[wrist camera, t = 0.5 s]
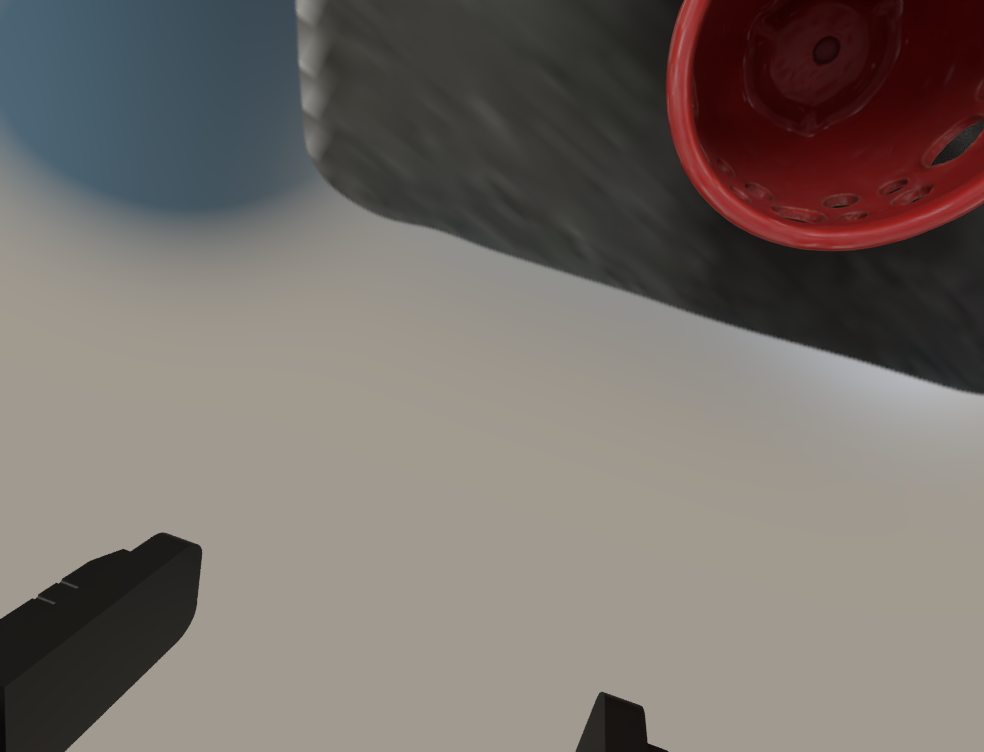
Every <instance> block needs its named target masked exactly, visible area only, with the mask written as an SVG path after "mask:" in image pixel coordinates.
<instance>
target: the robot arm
mask: <svg viewBox="0 0 984 752" xmlns="http://www.w3.org/2000/svg"><path fill="white" fill-rule="evenodd" d="M201 560H202V549H201V547H200V546H199V545H198V544H195V543H192V542H189V541H187V540H184V539H181V538H178V537H176V536H173V535H170V534H167V533H159V534H156V535H154V536H153V537H151V538H150V539H148V540H147V541H145V542H144V543H143V544H141V545H140V546H138V547H137V548H135V549H134V550H132V551H131V552H130V551H127V550H125V549H122V550H119V551H116V552H113V553H111V554H108V555H105V556H102V557H100V558H97V559H94V560H92V561H89V562H88V563H86V564H84V565H83V566H81V567H80V568H78V569H77V570H75V571H74V572H72V573H71V574H69V575H68V576H66V577H64V578H63V579H62V581H61V582H60V583H59V584H58V583H55V584H54V585H52V586H51V587H49V588H48V589H46V590H44V591H43V592H41V593H40V594H38V597H37V598H36V599H31V600H29V601H27V602H26V603H25V604H23V605H21V606H20V607H18V608H17V609H15V610H14V611H12V612H11V613H9V614H7V615H6V616H5V617H3V618H2V619H0V752H65V751H66V750H67V749H68V748H69V747H70V746H71V745H72V744H73V743H74V742H75V741H76V740H77V739H78V738H79V737H80V736H81V735H82V734H83V733H84V732H85V731H86V730H87V729H88V728H89V727H90V726H91V725H93V723H95V722H96V720H98V719H99V718H100V717H101V716H102V715H103V714H104V713H105V712H106V711H107V710H108V709H109V708H110V707H111V706H112V705H113V704H114V703H115V702H116V701H117V700H118V699H119V698H120V697H121V696H122V695H123V694H124V693H125V692H126V691H127V690H128V689H129V688H130V687H132V686H133V685H134V684H135V682H137V681H138V680H139V679H140V678H141V677H142V676H143V675H144V674H145V673H146V672H147V671H148V670H149V669H150V668H151V667H152V666H153V665H154V664H155V663H156V662H157V661H158V660H159V659H160V658H161V657H162V656H163V655H164V654H165V653H166V652H167V651H168V650H170V648H171V647H173V646H174V645H175V644H176V643H177V642H178V641H179V639H180V638H181V637H182V636H183V635H184V633H185V632H186V630H187V629H188V627H189V625H190V623H191V621H192V619H193V617H194V614H195V611H196V606H197V597H198V588H199V579H200V569H201ZM576 752H668V751H667V750H664V749H662V748H659V747H656V746H653V745H651V744H648V743H647V732H646V722H645V713H644V709H643V707H642V706H640V705H638V704H635V703H632V702H629V701H627V700H624V699H621V698H618V697H615V696H613V695H610V694H607V693H604V692H601V693H599V695H598V697H597V699H596V701H595V704H594V707H593V709H592V712H591V714H590V716H589V719H588V721H587V724H586V726H585V729H584V731H583V734H582V737H581V739H580V742H579V744H578V746H577V749H576Z"/></svg>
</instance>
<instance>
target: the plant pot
mask: <svg viewBox="0 0 984 752" xmlns="http://www.w3.org/2000/svg"><path fill="white" fill-rule="evenodd" d="M666 105H667V116H668V122H669V128H670V133H671V137H672V140H673V143H674V146H675V150H676V153H677V156H678V158H679V160H680V163H681V165H682V168H683V170H684V171H685V173H686V175H687V177H688V178H689V180H690V182H691V183H692V185H693V186H694V187H695V189H696V190H697V191H698V193H699V194H700V195H701V196H702V197H703V198H704V199H705V200H706V202H707V203H708V204H709V205H710V206H711V207H712V208H713V209H714V210H716V211H717V212H718V213H720V214H721V215H722V216H723V217H724V218H725V219H727V220H728V221H730V222H731V223H733V224H734V225H736V226H737V227H739V228H740V229H742V230H744V231H746V232H748V233H750V234H752V235H754V236H757V237H759V238H762V239H764V240H767V241H770V242H773V243H777V244H780V245H783V246H788V247H793V248H798V249H805V250H817V251H848V250H858V249H865V248H872V247H877V246H881V245H885V244H889V243H893V242H897V241H901V240H905V239H908V238H911V237H914V236H916V235H919V234H922V233H924V232H927V231H929V230H932V229H934V228H937V227H939V226H941V225H944V224H946V223H948V222H951V221H953V220H955V219H957V218H959V217H961V216H963V215H964V214H966V213H968V212H970V211H972V210H974V209H975V208H977V207H978V206H980V205H982V204H983V203H984V129H983V131H982V132H981V133H980V134H979V135H978V137H977V138H976V140H975V141H974V142H973V143H972V144H971V145H970V146H969V147H968V148H967V149H966V150H965V151H964V152H963V153H962V154H961V155H959V156H958V157H956V158H954V159H952V160H950V161H947V162H945V163H941V164H937V165H932V166H931V164H932V162H933V161H934V159H935V158H936V157H937V155H938V154H939V153H940V152H941V151H942V150H943V149H944V148H945V146H946V145H947V144H948V143H949V142H951V141H952V140H953V139H954V138H955V137H956V136H958V135H959V134H960V133H961V132H963V131H964V130H966V129H967V128H969V127H970V126H972V125H974V124H976V123H978V122H980V121H984V0H684V1H683V3H682V5H681V7H680V10H679V13H678V16H677V19H676V23H675V26H674V30H673V34H672V38H671V44H670V49H669V55H668V63H667V74H666ZM901 187H903V188H901ZM897 188H901V189H900V190H897V191H895V192H893V193H890V194H887V193H889V192H891V191H893V190H895V189H897ZM924 196H925V197H924ZM921 197H923V198H921ZM918 198H921V199H919V200H918V201H916V202H912V203H909V202H911V201H913V200H915V199H918ZM907 203H908V204H907ZM905 204H906V205H905ZM838 205H850V206H847V207H841V208H832V207H833V206H838ZM784 217H785V218H784ZM786 218H791V219H797V220H801V221H805V222H808V223H805V222H797V221H793V220H789V219H786Z"/></svg>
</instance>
